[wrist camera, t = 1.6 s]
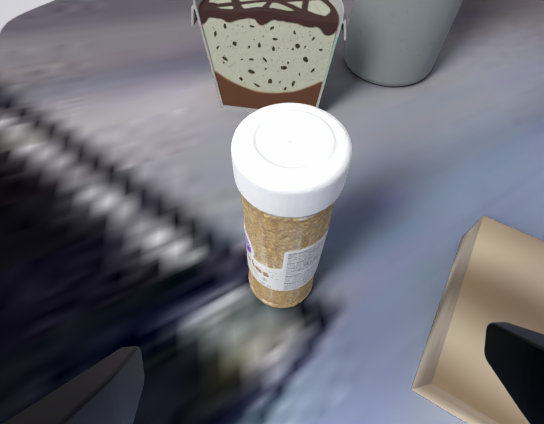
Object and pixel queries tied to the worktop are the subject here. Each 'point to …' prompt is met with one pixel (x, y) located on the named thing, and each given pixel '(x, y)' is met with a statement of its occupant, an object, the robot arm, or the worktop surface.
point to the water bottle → (397, 38)
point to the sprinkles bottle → (288, 194)
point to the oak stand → (481, 321)
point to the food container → (269, 48)
